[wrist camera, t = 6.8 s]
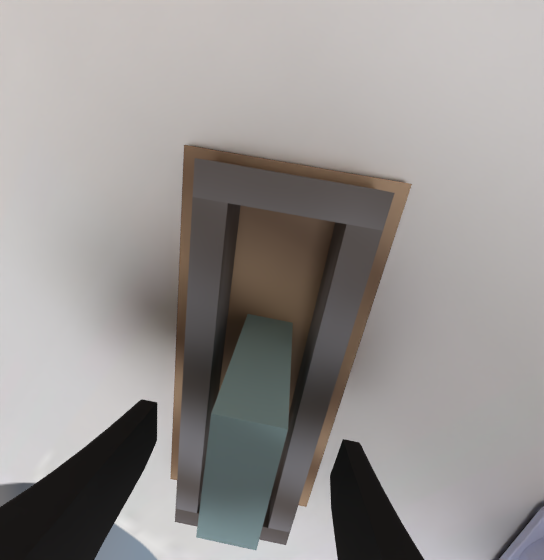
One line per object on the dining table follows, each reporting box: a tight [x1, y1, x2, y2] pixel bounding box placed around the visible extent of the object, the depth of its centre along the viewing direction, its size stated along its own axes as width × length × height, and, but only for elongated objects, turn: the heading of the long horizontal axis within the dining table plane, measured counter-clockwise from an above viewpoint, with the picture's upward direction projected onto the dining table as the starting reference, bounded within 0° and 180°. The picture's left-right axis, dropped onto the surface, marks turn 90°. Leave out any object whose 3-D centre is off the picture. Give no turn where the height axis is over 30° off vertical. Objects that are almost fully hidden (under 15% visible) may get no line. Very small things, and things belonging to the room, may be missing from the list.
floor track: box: [171, 145, 412, 545], centre depth 14 cm, size 20×9×3 cm, turn 171°
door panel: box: [196, 314, 293, 550], centre depth 12 cm, size 6×2×6 cm, turn 170°
